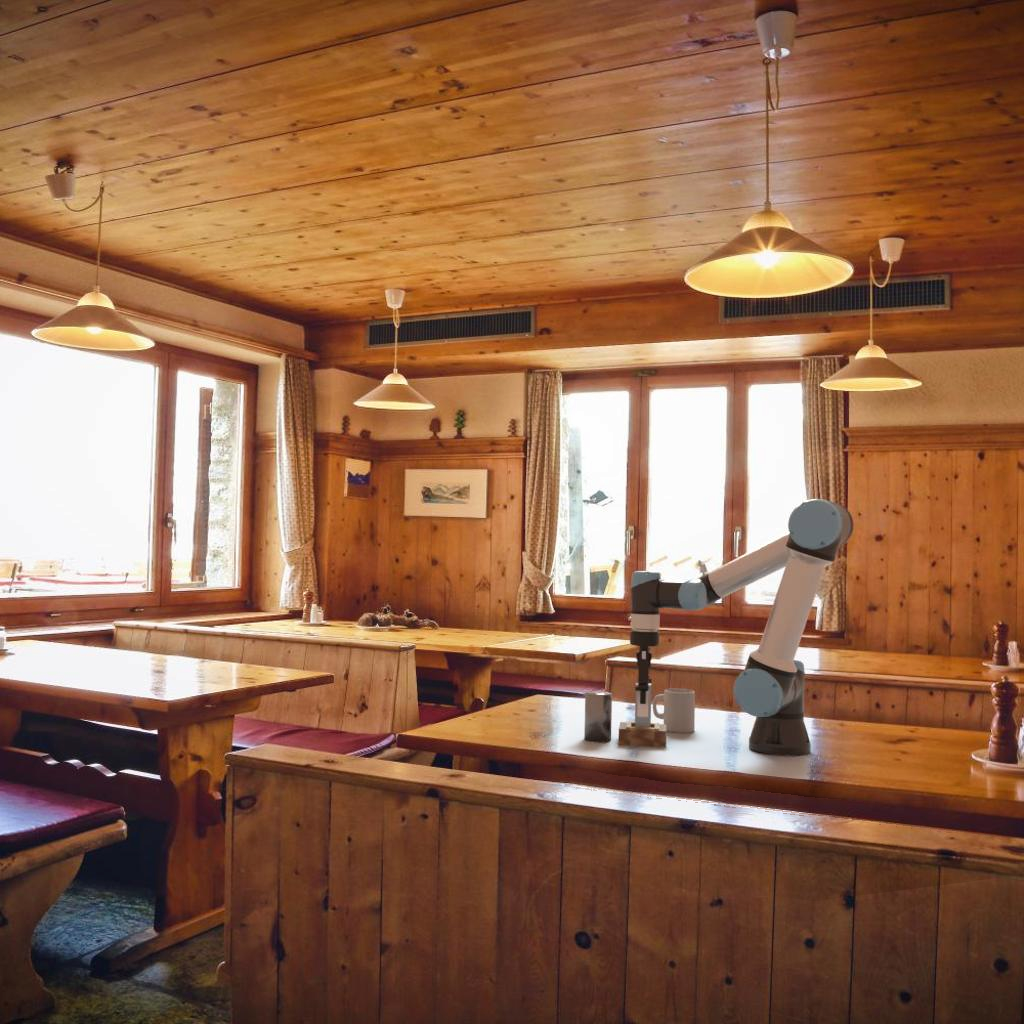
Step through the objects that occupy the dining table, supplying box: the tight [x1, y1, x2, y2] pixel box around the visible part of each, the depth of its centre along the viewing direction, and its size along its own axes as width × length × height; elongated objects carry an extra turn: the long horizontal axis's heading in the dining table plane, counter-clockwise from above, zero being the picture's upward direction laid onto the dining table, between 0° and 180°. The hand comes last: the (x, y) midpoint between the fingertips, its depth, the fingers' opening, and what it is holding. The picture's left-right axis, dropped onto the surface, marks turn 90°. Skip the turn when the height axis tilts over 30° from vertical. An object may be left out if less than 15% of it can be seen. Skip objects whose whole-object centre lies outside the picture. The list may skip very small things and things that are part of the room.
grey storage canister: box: [583, 690, 613, 743], centre depth 250 cm, size 7×7×12 cm
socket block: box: [618, 720, 667, 748], centre depth 248 cm, size 12×10×4 cm
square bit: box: [634, 682, 652, 728], centre depth 248 cm, size 4×4×16 cm
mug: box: [652, 688, 696, 734], centre depth 267 cm, size 12×8×11 cm
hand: (643, 712), depth 248 cm, fingers open, 13 cm apart
